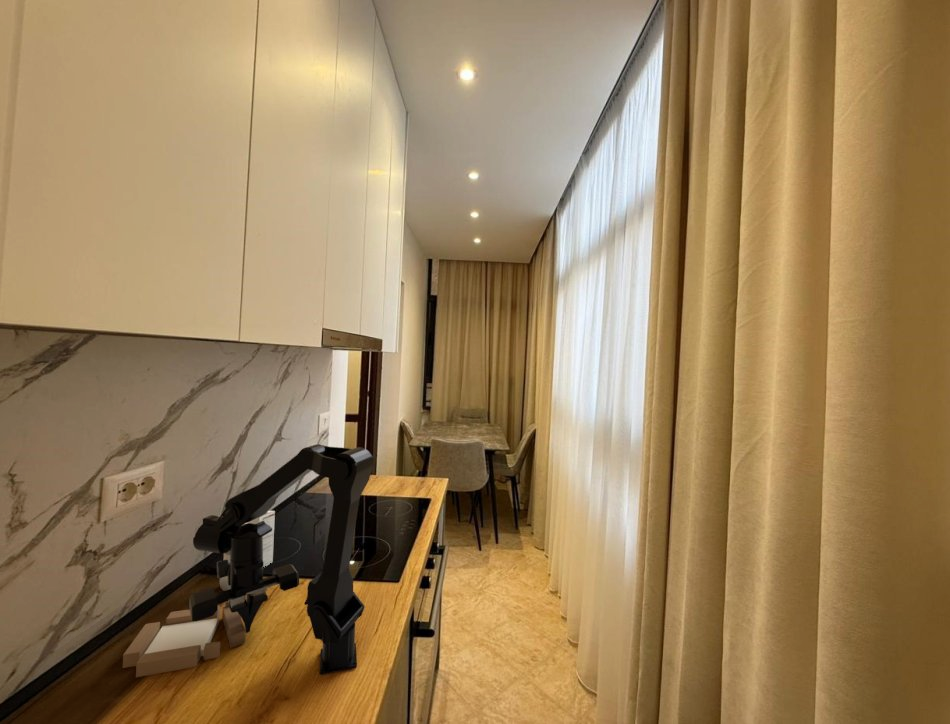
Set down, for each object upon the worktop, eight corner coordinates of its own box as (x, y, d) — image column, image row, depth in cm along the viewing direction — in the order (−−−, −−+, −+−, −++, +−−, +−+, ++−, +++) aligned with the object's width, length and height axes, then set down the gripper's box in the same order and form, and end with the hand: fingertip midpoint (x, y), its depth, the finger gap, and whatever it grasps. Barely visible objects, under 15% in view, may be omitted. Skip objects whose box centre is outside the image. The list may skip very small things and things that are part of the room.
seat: (216, 663, 75) (216, 650, 75) (113, 681, 70) (113, 667, 70) (236, 613, 89) (236, 602, 89) (152, 626, 84) (152, 614, 84)
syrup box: (239, 568, 108) (241, 514, 109) (257, 558, 114) (259, 507, 114) (256, 572, 107) (258, 517, 107) (273, 562, 112) (275, 509, 113)
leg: (221, 618, 87) (222, 602, 87) (234, 614, 89) (235, 598, 89) (230, 649, 78) (231, 631, 78) (244, 644, 80) (245, 627, 80)
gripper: (285, 529, 94) (285, 595, 94) (186, 554, 82) (187, 630, 82) (299, 546, 85) (300, 620, 86) (192, 577, 73) (192, 662, 74)
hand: (247, 631), depth 82 cm, fingers closed
